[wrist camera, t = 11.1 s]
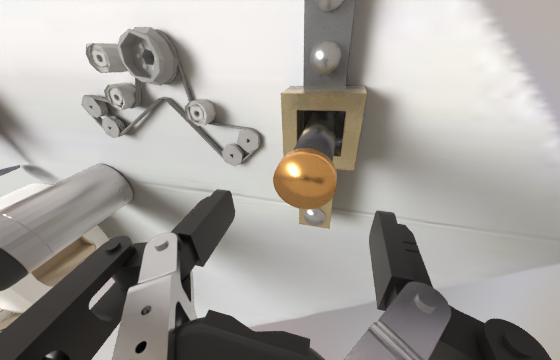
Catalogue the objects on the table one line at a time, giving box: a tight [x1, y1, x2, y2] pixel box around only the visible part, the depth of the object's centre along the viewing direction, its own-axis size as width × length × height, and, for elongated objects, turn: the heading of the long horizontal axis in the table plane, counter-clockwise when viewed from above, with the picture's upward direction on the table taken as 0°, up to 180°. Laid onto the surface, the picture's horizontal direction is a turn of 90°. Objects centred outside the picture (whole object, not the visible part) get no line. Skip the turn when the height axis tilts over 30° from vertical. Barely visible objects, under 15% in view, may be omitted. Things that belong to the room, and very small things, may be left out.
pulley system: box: [81, 27, 261, 166], centre depth 26 cm, size 27×5×15 cm
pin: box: [273, 110, 338, 209], centre depth 18 cm, size 4×4×13 cm
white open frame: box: [0, 184, 110, 331], centre depth 43 cm, size 22×13×28 cm, turn 8°
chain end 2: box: [281, 89, 367, 229], centre depth 24 cm, size 8×17×4 cm, turn 3°
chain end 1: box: [286, 0, 365, 149], centre depth 20 cm, size 8×17×3 cm, turn 3°
